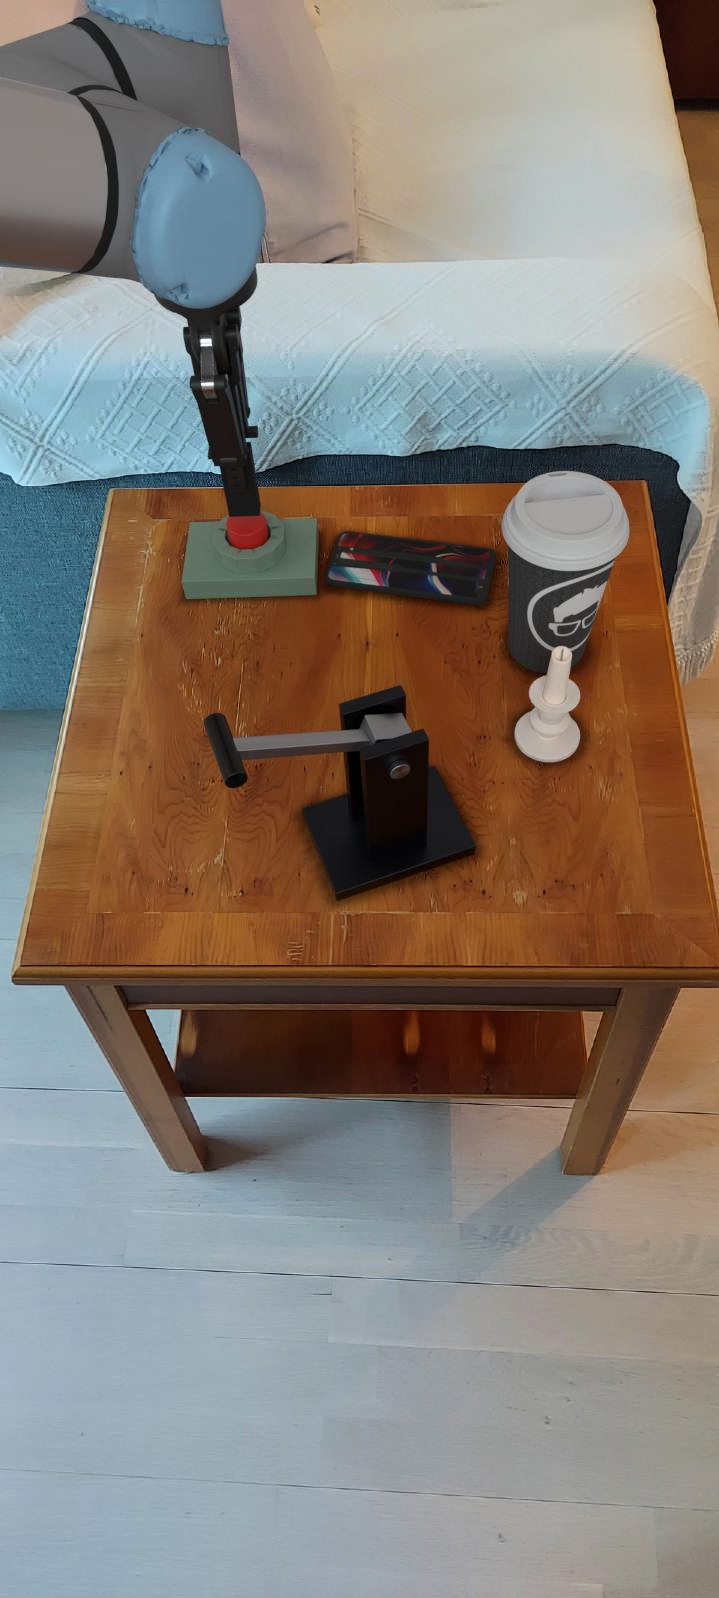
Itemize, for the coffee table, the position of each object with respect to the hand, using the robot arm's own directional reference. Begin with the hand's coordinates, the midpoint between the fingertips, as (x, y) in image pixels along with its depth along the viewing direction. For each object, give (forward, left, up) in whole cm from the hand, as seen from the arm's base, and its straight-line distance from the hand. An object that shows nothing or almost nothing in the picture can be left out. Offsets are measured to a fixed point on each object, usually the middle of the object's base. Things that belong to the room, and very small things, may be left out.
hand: (245, 510), depth 88 cm
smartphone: (+15, -1, -7) cm, 16 cm away
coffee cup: (+26, -11, -7) cm, 29 cm away
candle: (+25, -21, -7) cm, 33 cm away
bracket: (+12, -30, -7) cm, 33 cm away
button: (0, 0, -3) cm, 3 cm away
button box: (0, 0, -7) cm, 7 cm away
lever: (+7, -32, +6) cm, 33 cm away
